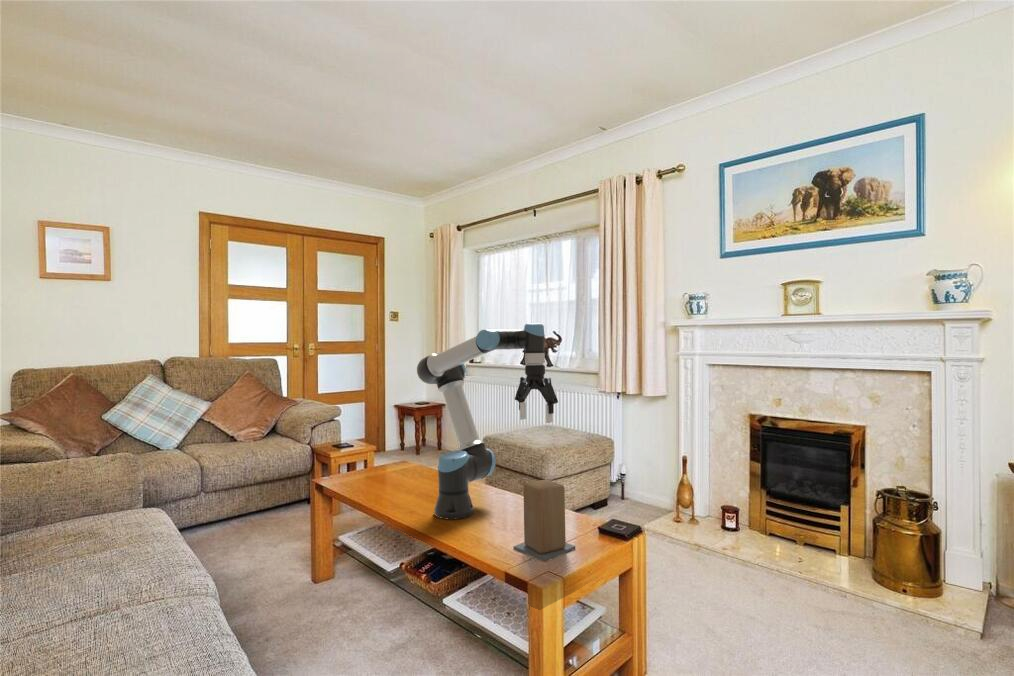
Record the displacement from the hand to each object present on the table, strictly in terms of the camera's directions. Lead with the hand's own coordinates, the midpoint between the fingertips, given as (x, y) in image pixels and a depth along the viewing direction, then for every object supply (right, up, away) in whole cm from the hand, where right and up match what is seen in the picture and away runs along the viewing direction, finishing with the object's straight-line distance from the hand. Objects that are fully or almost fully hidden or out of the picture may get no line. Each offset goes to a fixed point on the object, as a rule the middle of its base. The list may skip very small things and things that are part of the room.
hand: (536, 421), depth 192 cm
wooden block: (+1, -36, -30) cm, 46 cm away
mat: (+1, -36, -29) cm, 46 cm away
